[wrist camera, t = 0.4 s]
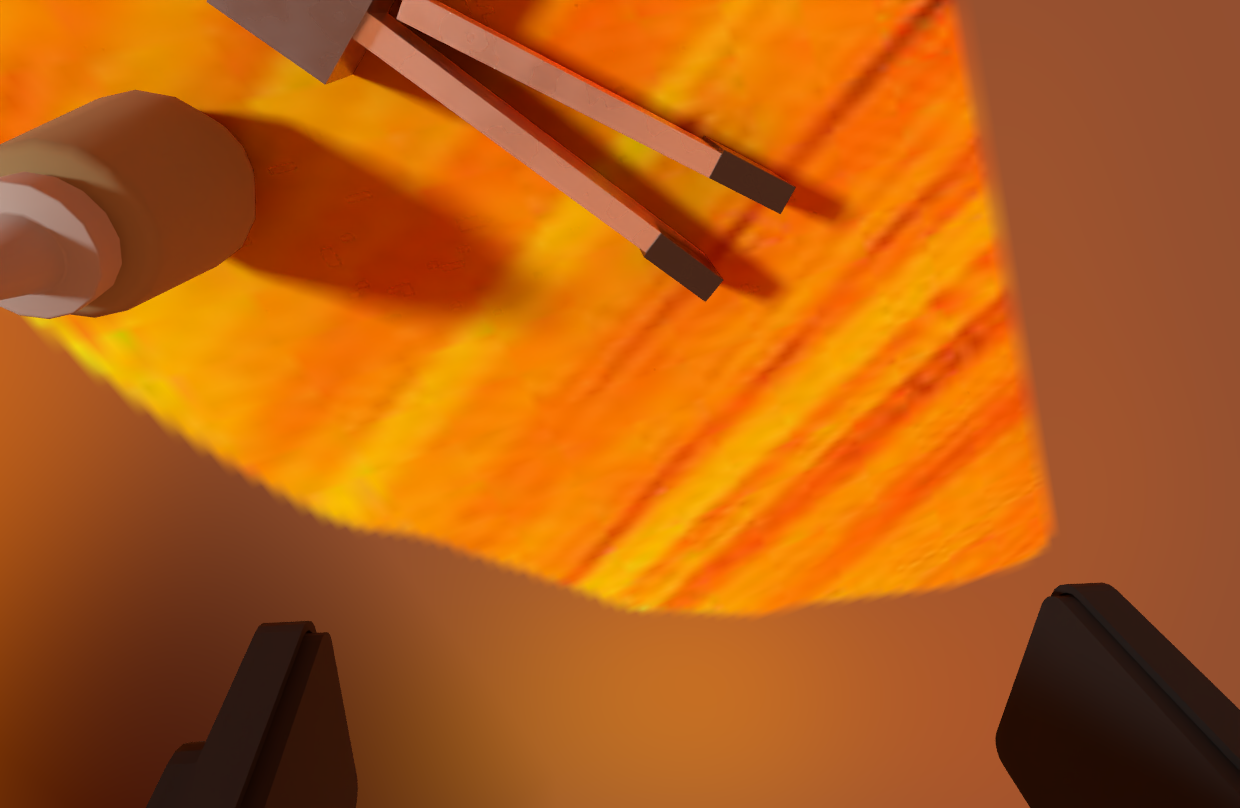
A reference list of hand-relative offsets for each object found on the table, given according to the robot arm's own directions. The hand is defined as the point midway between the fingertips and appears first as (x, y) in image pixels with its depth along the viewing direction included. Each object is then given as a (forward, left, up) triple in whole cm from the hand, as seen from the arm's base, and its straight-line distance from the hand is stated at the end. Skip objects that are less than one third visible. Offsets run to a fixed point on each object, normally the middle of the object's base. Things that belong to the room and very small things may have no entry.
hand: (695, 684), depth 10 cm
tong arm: (-1, +4, -33) cm, 34 cm away
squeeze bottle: (-15, -11, -34) cm, 39 cm away
